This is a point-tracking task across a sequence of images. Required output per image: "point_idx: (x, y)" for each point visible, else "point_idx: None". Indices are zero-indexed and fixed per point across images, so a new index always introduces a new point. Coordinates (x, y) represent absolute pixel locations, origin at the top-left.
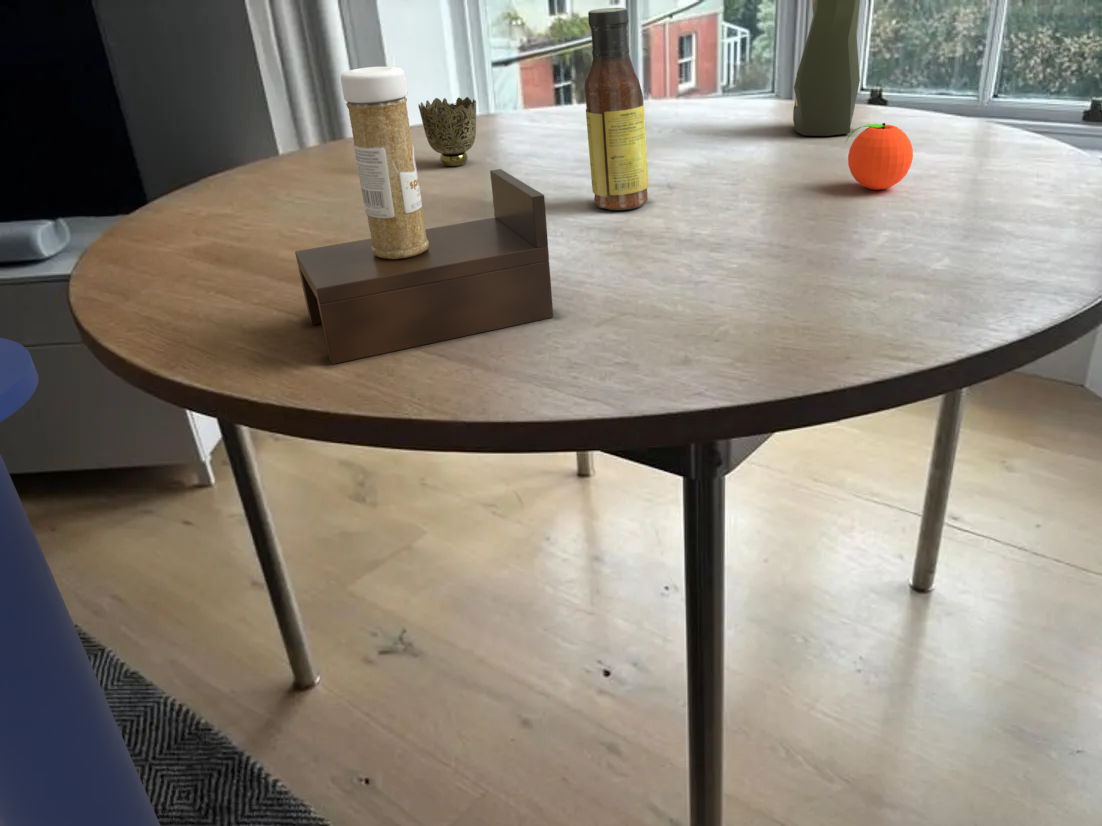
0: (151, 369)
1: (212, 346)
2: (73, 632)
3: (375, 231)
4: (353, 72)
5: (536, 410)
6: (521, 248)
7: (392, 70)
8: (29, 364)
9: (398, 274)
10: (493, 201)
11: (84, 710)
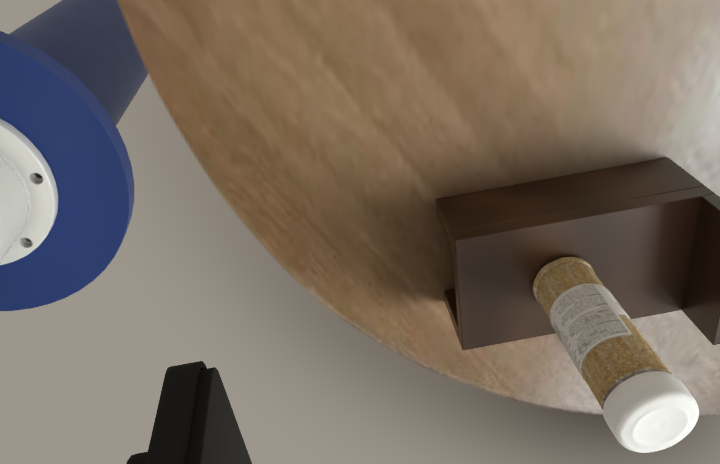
0: (282, 266)
1: (335, 232)
2: (132, 67)
3: (546, 313)
4: (633, 437)
5: (564, 398)
6: (669, 306)
7: (678, 437)
8: (122, 164)
9: (540, 335)
10: (713, 208)
11: (144, 77)
